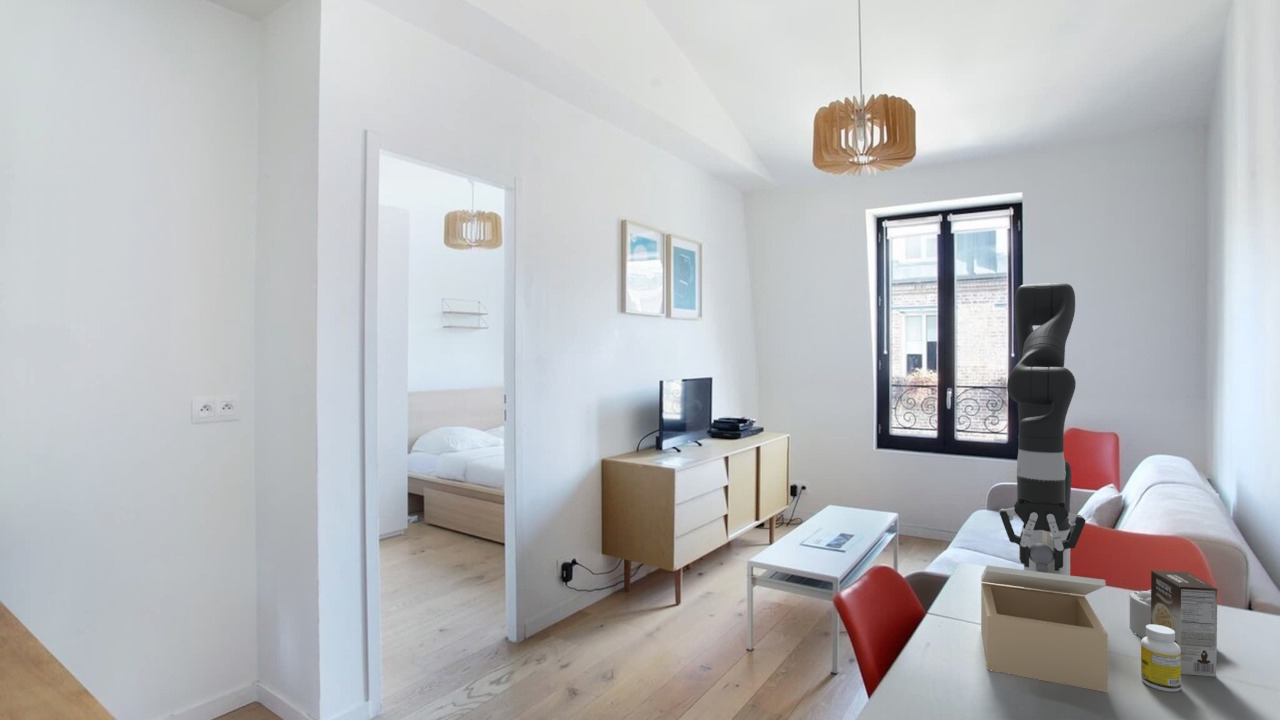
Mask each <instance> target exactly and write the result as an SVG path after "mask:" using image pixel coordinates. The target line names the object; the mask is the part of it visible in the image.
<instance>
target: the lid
mask: <svg viewBox="0 0 1280 720" xmlns="http://www.w3.org/2000/svg"><path fill="white" fill-rule="evenodd" d="M1029 557H1030V559H1031V560H1032V561H1033V562H1034V563H1035V564H1036V571H1028V570H1024V569H1020V568H1018V569H1017V568H1010V567H1003V566H994V565H986V566H985V569H984V570H983V573H982V574H981V576H980V577H981V579H980V582H983V583H991V584H999V585H1006V586H1014V587H1021V588H1032V589H1039V590H1047V591H1055V592H1062V593H1070V594H1074V595H1082V596H1086V595H1089V594H1091V593H1093V592H1096V591H1098V590H1101V589H1102V588H1104V587H1106V584H1107V583H1106V579H1100V578H1095V577H1093V578H1092V577H1085V576H1077V575H1076V576H1075V575H1070V576H1069V575H1061V574H1053V573H1048V567H1047V565H1048V564H1050V563H1051V562H1052V561H1053V559H1054V553H1053V551H1052V549H1051V548H1050V547H1049V546H1047V545H1046V544H1043V543H1036V544H1033V545H1032V546H1031V547H1030V548H1029Z"/></svg>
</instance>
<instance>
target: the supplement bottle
mask: <svg viewBox="0 0 1280 720" xmlns="http://www.w3.org/2000/svg"><path fill="white" fill-rule="evenodd" d="M1146 635H1147V637H1144V638H1141V641H1140V665H1141V666H1140V676H1141V681H1142V682H1143V683H1144V684H1145V685H1147V686H1148V687H1151V688H1152V689H1156V690H1159V691H1162V692H1169V693H1170V692H1171V693H1174V692H1175V693H1176V692H1179V691H1180V690H1181V689H1182V674H1181V650H1180V647H1179V646H1178V644H1176V643H1175V642H1174V641H1175V631H1174V630H1172V629H1170V628H1168V627H1165V626H1161V625H1155V624H1149V625H1146Z"/></svg>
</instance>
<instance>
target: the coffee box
mask: <svg viewBox="0 0 1280 720" xmlns="http://www.w3.org/2000/svg"><path fill="white" fill-rule="evenodd" d="M1150 590H1151V624H1155V625H1161V626H1165V627H1168V628H1170V629H1172V630H1174V631H1175V641H1174V642H1175V643H1176V644H1178V646H1179V647H1180V650H1181V675H1188V676H1189V675H1191V676H1202V677H1211V678H1212V677H1213V678H1214V677H1215V678H1217V657H1218V655H1217V654H1218V653H1217V652H1218V651H1217V647H1218V646H1217V645H1218V644H1217V643H1218V641H1217V639H1218V638H1217V637H1218V636H1217V635H1218V590H1219V589H1218V588H1216V587H1215V586H1213V585H1211V584H1209V583H1207V582H1206V581H1204V580H1203V579H1200V578H1198V577H1197V576H1195V575H1193V574H1192V573H1189V572H1188V571H1175V570H1174V571H1172V570H1153V569H1152V570H1150Z"/></svg>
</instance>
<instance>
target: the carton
mask: <svg viewBox="0 0 1280 720" xmlns="http://www.w3.org/2000/svg"><path fill="white" fill-rule="evenodd" d="M980 582H981V581H980ZM980 586H981V587H980V588H981V589H980V591H981V592H980V595H981V596H980V601H981V602H980V604H981V607H980V609H981V610H980V615H981V616H980V617H981V618H980V619H981V620H980V622H981V623H980V627H981V628H980V629H981V636H982V637H981V638H982V644H983V650H984V655H985V656H984V657H985V662H986V664H985V665H986V669H987V671H989V670H992V671H991V672H994V671H997V672H996V673H1000V672H1004V673H1003V674H1005V673H1009V674H1008V675H1010V674H1013V675H1012V676H1016V675H1017V677H1020V678H1021V677H1023V678H1028V679H1032V680H1033V679H1034V680H1039V681H1043V682H1044V681H1045V682H1050V683H1055V684H1060V685H1065V686H1071V687H1077V688H1082V689H1089V690H1094V691H1098V692H1104V693H1108V646H1109V645H1108V643H1109V642H1108V639H1109V638H1108V633H1107V630H1106V628H1105V627H1104V626H1103V624H1102V622H1101V620H1100V618H1098V616H1097V613H1095V611H1094V608H1093V607H1092V605H1091V604H1090V602H1089V601H1088V600H1087V597H1086V595H1077V594H1067V593H1059V592H1052V591H1044V590H1037V589H1029V588H1024V587H1017V586H1009V585H1002V584H994V583H986V582H981V583H980Z"/></svg>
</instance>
